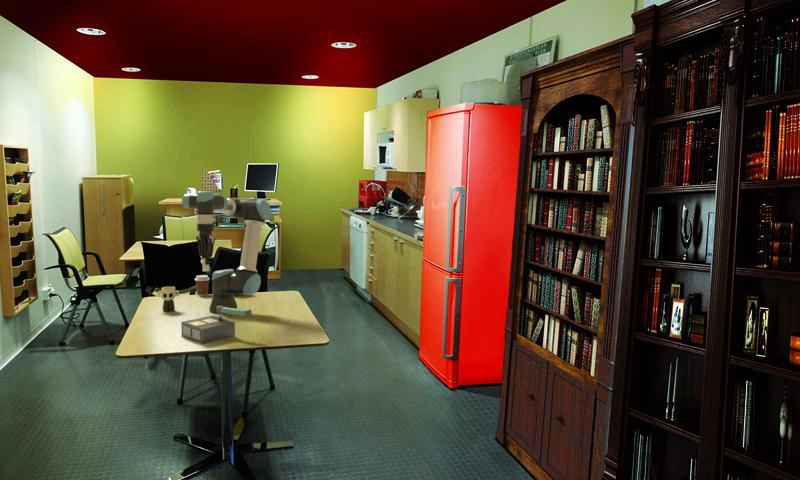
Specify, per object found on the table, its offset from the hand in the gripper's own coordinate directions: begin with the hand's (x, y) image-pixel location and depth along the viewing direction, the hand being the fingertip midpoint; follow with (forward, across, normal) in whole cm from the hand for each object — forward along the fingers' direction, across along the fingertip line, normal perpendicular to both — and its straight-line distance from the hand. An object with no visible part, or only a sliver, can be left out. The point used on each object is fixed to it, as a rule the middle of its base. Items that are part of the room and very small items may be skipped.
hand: (205, 271), depth 275 cm
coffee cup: (+30, -72, +43) cm, 89 cm away
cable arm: (+19, +19, +3) cm, 27 cm away
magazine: (+30, -57, +58) cm, 87 cm away
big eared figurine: (+30, -48, +7) cm, 57 cm away
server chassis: (+29, +11, -6) cm, 32 cm away
